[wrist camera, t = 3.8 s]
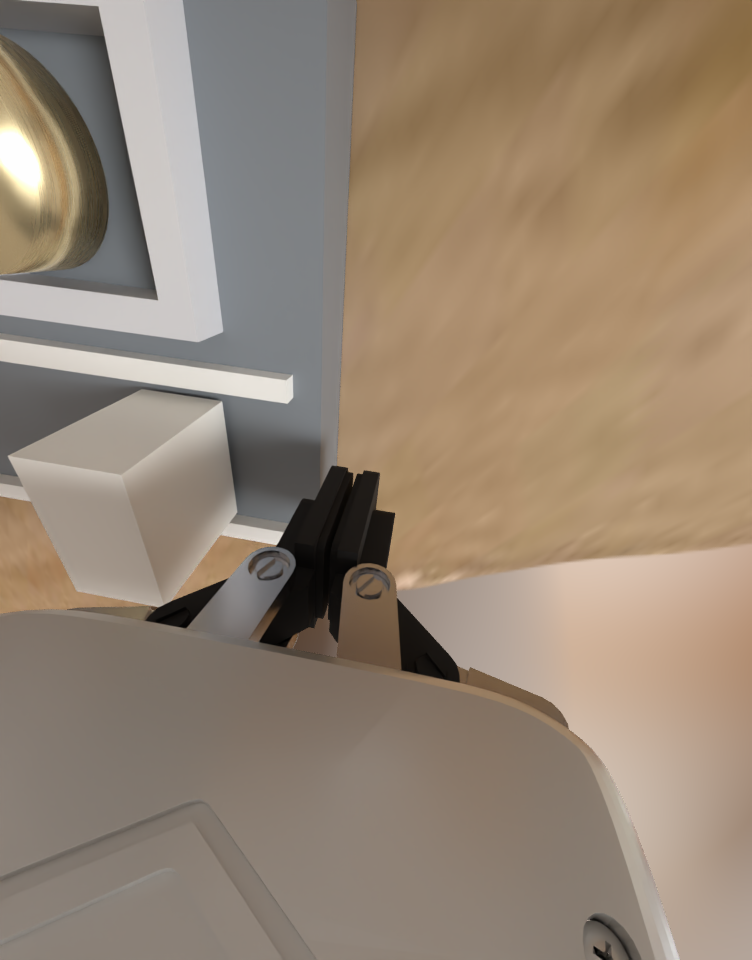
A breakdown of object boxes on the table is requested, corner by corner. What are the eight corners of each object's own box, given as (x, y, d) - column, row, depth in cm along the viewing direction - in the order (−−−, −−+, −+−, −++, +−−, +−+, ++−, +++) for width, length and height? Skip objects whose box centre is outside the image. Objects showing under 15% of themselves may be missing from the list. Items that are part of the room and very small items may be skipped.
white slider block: (222, 401, 13) (121, 475, 9) (237, 512, 16) (165, 608, 12) (142, 389, 13) (7, 455, 9) (170, 500, 16) (76, 591, 12)
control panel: (356, 2, 10) (305, -141, 6) (334, 507, 19) (309, 571, 16) (-400, -51, 12) (-799, -189, 8) (-85, 437, 21) (-199, 480, 17)
